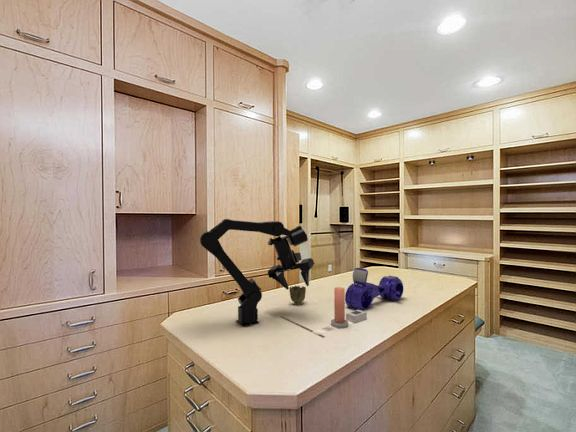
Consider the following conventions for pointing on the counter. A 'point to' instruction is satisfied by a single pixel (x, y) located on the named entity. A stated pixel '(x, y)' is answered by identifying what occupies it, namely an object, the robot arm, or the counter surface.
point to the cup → (297, 294)
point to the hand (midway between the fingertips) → (297, 287)
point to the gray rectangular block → (356, 316)
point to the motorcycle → (371, 290)
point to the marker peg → (339, 308)
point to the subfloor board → (317, 332)
